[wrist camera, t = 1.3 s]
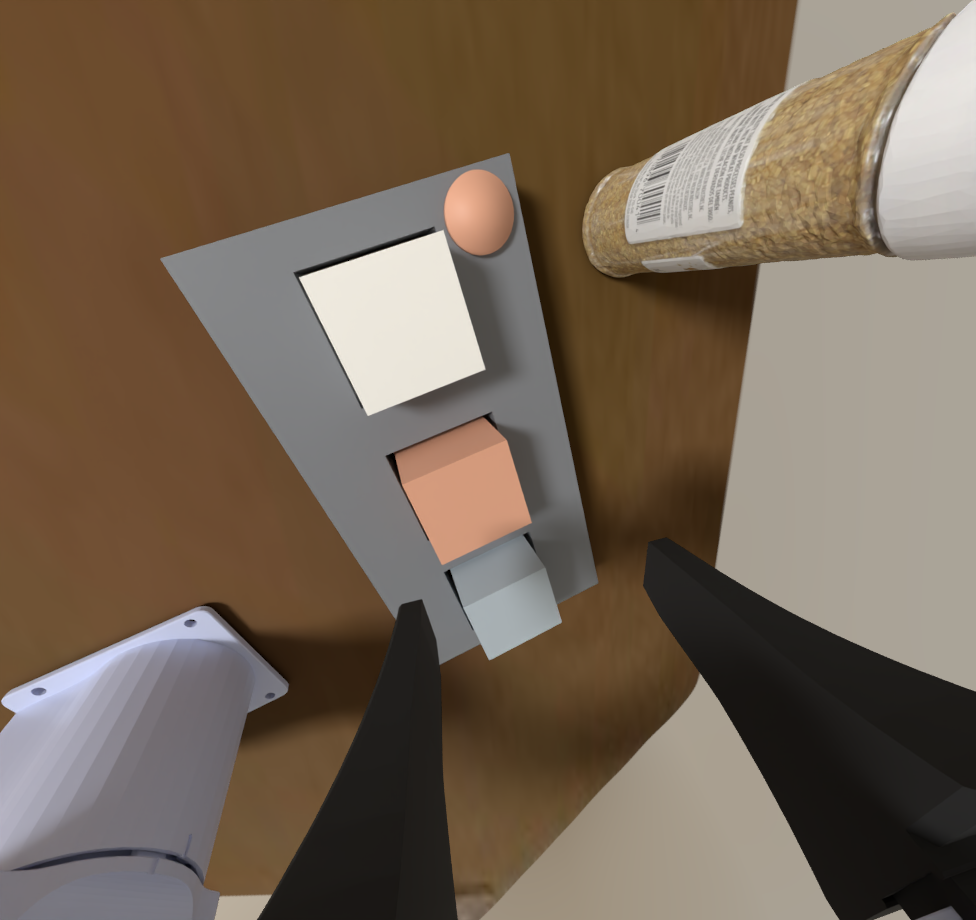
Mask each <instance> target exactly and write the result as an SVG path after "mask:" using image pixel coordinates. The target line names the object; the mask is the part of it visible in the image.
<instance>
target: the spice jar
mask: <svg viewBox="0 0 976 920" xmlns="http://www.w3.org/2000/svg"><path fill="white" fill-rule="evenodd" d="M582 231H583V242H584V246H585V249H586V252H587V255H588V257H589V260H590V262H591V263H592V264H593V265H594V266H595V267H596V268H597V269H598V270H599V271H601V272H602V273H604V274H607V275H609V276H612V277H626V276H630V275H633V274H635V273H646V272H659V273H669V272H681V271H694V270H708V269H719V268H725V267H732V266H746V265H753V264H760V263H769V262H779V261H799V260H808V259H819V258H831V257H845V256H855V255H871V254H875V253H878V254H881V255H884V256H886V257H897V256H898V257H900V258H902V259H907V260H930V259H945V258H960V257H972V256H976V0H973V1H971V2H970V3H969V4H968V5H967V6H966V7H965V8H964V9H963V10H962V11H961V12H960V13H959V14H958V15H956V14H955V13H950V14H948V15H946V16H945V17H944V18H943V19H942V20H940V21H939V22H938V23H937V24H936V25H934V26H933V27H932V28H929V29H926V30H924V31H921V32H919V33H918V34H916V35H914V36H911V37H908V38H906V39H903V40H901V41H899V42H897V43H895V44H893V45H891V46H889V47H887V48H883V49H881V50H879V51H877V52H875V53H873V54H871V55H869V56H867V57H864V58H862V59H859V60H857V61H855V62H853V63H851V64H850V65H848V66H845V67H842V68H840V69H838V70H836V71H834V72H832V73H830V74H828V75H826V76H824V77H822V78H816V79H812V80H808V81H806V82H804V83H802V84H800V85H798V86H795V87H793V88H791V89H789V90H787V91H785V92H782V93H780V94H778V95H776V96H774V97H772V98H769V99H767V100H765V101H763V102H761V103H759V104H757V105H754V106H752V107H750V108H748V109H746V110H744V111H742V112H740V113H738V114H736V115H733V116H731V117H729V118H727V119H725V120H723V121H721V122H718V123H716V124H714V125H712V126H710V127H708V128H706V129H704V130H701V131H699V132H697V133H695V134H693V135H691V136H689V137H687V138H685V139H683V140H681V141H679V142H677V143H674V144H672V145H670V146H668V147H666V148H664V149H663V150H661V151H659V152H658V153H657V154H656V155H654V156H652V157H651V158H648V159H646V160H643V161H642V162H639V163H637V164H635V165H633V166H630V167H622V168H619V169H617V170H615V171H613V172H611V173H610V174H608V175H607V176H606V177H604V178H603V179H602V180H601V181H600V182H599V183H598V184H597V186H596V188H595V189H594V191H593V192H592V194H591V196H590V198H589V202H588V204H587V206H586V209H585V213H584V219H583V225H582Z"/></svg>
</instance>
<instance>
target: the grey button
mask: <svg viewBox="0 0 976 920" xmlns="http://www.w3.org/2000/svg"><path fill="white" fill-rule="evenodd" d="M450 571H451V573H452V576H453V579H454V582H455V585H456V588H457V591H458V594H459V597H460V600H461V603H462V606H463V608H464V610H465V612H466V614H467V616H468V618H469V620H470V622H471V624H472V627H473V629H474V631H475V633H476V635H477V637H478V639H479V641H480V643H481V645H482V647H483V649H484V651H485V653H486V655H487V657H488V659H489V660H491V659H493V658H495V657H497V656H499V655H501V654H503V653H505V652H506V651H508V650H510V649H512V648H514V647H516V646H518V645H520V644H522V643H524V642H525V641H527V640H529V639H531V638H533V637H535V636H537V635H539V634H541V633H543V632H545V631H546V630H548V629H550V628H552V627H554V626H556V625H558V624H560V623H562V621H561V618H560V614H559V611H558V608H557V604H556V601H555V598H554V595H553V591H552V588H551V585H550V581H549V578H548V575H547V571H546V568H545V566H544V565H543V563H542V562H541V560H540V559H539V558H538V556H537V555H536V553H535V552H534V550H533V549H532V547H531V546H530V544H529V543H528V542H527V540H526V539H525V537H524V536H523V535H521V536H519V537H516V538H514V539H512V540H510V541H508V542H506V543H504V544H502V545H500V546H498V547H495V548H493V549H491V550H489V551H487V552H485V553H483V554H481V555H479V556H477V557H474V558H472V559H470V560H468V561H466V562H464V563H462V564H460V565H458V566H456V567H453V568H451V569H450Z"/></svg>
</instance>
